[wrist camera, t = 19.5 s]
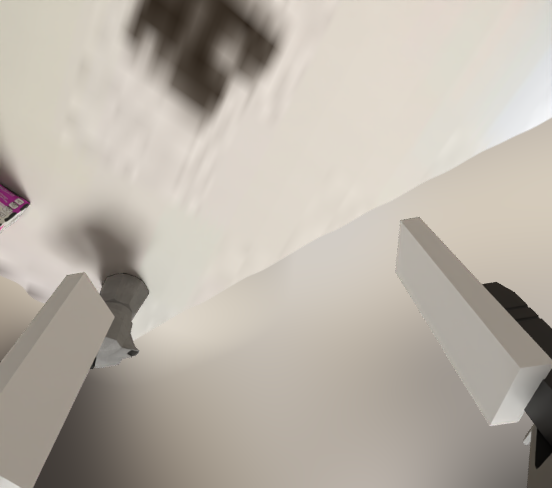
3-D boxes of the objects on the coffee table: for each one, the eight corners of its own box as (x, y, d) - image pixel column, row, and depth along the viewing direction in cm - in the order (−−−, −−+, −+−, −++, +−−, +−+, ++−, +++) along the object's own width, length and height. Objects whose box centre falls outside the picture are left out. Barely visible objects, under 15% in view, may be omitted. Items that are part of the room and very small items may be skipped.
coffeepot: (159, 276, 62) (130, 352, 47) (159, 308, 67) (133, 386, 52) (76, 266, 59) (18, 344, 44) (82, 301, 64) (32, 381, 49)
